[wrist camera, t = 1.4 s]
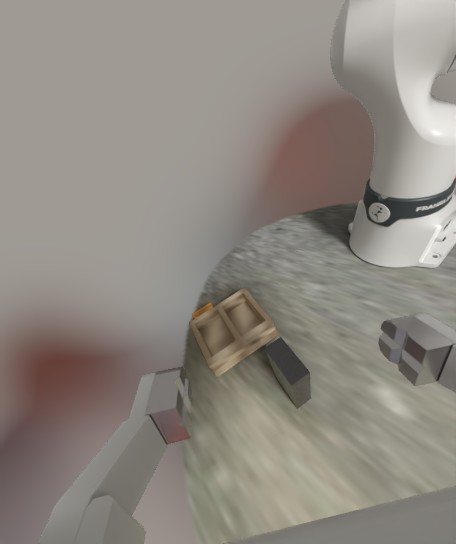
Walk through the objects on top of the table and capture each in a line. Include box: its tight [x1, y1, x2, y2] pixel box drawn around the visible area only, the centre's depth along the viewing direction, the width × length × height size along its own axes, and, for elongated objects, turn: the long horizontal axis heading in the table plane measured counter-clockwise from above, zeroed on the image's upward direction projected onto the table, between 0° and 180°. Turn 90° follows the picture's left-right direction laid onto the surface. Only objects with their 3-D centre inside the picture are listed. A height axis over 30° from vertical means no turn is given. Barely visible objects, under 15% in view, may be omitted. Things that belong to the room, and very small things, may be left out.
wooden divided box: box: [189, 288, 279, 377], centre depth 40 cm, size 14×12×5 cm
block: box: [264, 337, 311, 409], centre depth 28 cm, size 2×5×12 cm, turn 30°
